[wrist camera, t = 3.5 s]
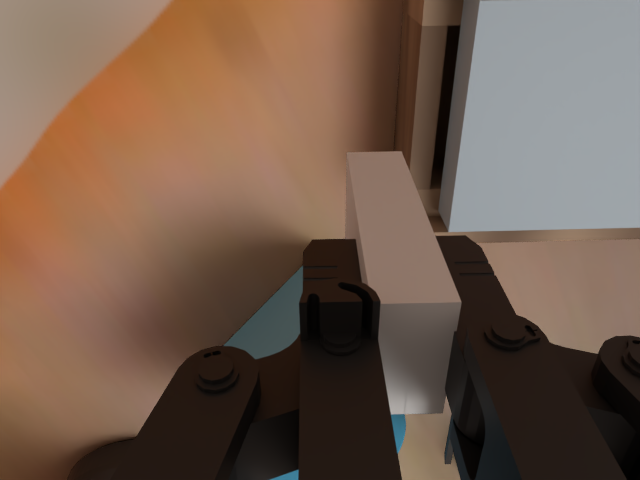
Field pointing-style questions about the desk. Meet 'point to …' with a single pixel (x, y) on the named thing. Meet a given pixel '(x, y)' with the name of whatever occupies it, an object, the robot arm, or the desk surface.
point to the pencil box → (447, 117)
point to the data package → (285, 338)
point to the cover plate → (544, 117)
